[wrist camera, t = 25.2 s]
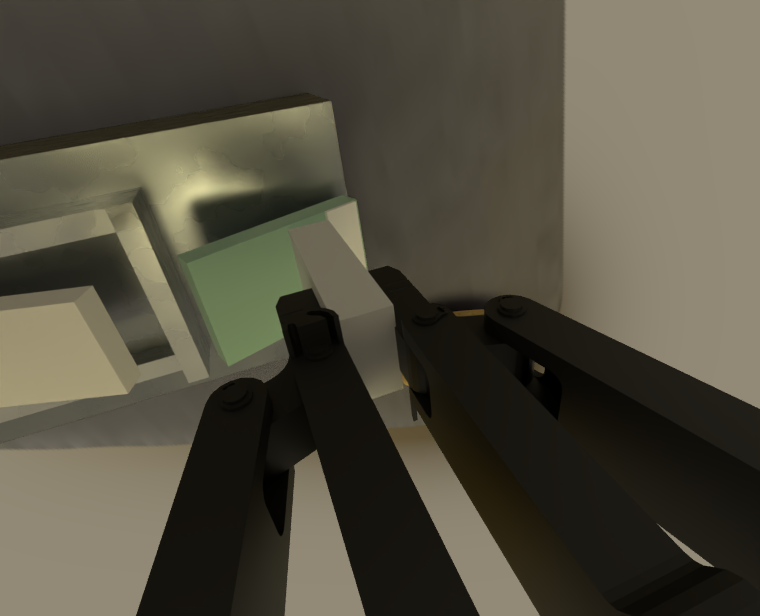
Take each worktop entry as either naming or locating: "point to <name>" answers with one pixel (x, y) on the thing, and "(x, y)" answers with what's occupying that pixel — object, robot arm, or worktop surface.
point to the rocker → (61, 348)
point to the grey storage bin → (155, 227)
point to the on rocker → (258, 276)
